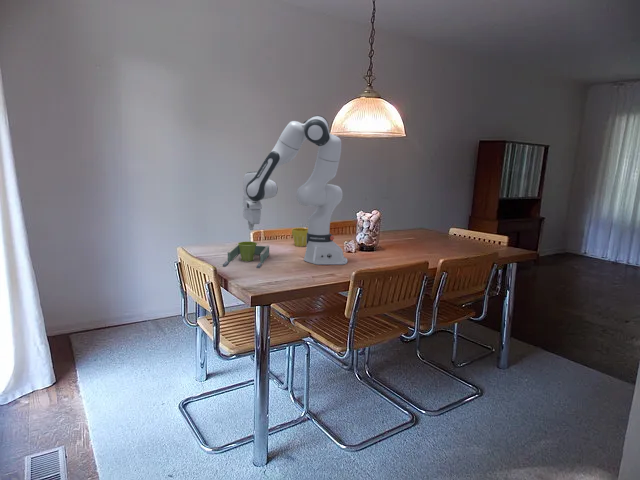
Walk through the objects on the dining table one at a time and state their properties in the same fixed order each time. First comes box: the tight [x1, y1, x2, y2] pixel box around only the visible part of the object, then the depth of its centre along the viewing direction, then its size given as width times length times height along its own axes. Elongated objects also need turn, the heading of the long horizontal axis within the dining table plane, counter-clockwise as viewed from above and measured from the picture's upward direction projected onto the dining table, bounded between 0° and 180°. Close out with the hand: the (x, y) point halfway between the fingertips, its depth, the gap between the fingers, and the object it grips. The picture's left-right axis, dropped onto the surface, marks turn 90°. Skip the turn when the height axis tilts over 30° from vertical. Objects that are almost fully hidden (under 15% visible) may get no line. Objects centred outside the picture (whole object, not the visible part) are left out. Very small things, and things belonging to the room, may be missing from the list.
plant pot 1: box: [237, 241, 258, 262], centre depth 219 cm, size 9×9×9 cm
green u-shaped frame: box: [227, 243, 270, 265], centre depth 223 cm, size 18×20×5 cm
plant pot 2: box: [291, 227, 308, 247], centre depth 259 cm, size 10×10×10 cm
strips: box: [222, 260, 263, 269], centre depth 208 cm, size 18×6×1 cm, turn 88°
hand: (250, 229), depth 227 cm, fingers closed
